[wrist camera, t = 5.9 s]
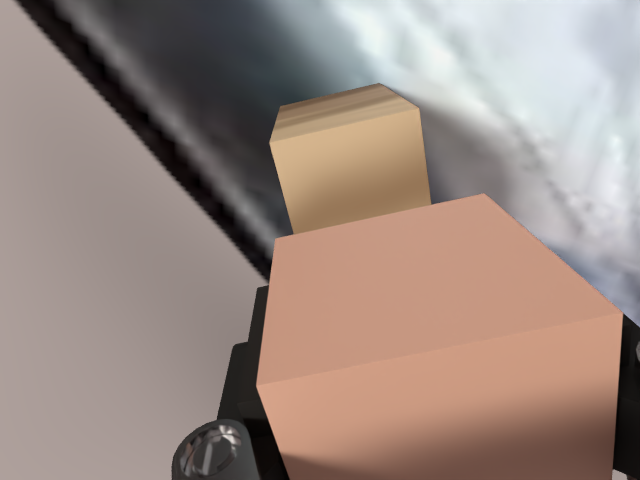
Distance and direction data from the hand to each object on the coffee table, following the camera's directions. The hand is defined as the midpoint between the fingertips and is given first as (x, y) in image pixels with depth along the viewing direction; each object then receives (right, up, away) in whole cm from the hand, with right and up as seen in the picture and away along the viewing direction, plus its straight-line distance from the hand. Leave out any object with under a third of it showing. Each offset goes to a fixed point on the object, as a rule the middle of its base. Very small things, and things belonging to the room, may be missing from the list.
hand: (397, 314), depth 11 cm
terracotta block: (0, 0, 0) cm, 1 cm away
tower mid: (-1, +6, +12) cm, 14 cm away
